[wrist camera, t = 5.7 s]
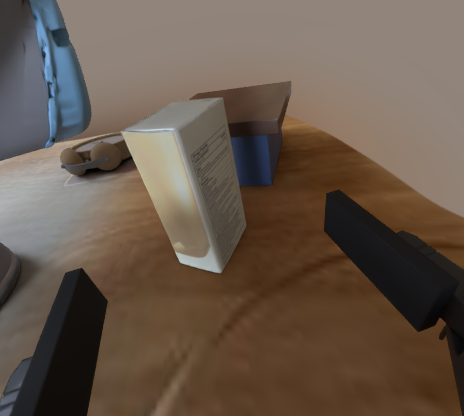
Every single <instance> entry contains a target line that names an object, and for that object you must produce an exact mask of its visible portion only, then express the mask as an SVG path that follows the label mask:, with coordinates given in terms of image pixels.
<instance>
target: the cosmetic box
mask: <svg viewBox="0 0 464 416" xmlns="http://www.w3.org/2000/svg"><path fill="white" fill-rule="evenodd" d="M121 133H122V135H123V138H124V140H125V142H126V144H127V146H128V149H129V151H130V153H131V155H132V157H133V160H134V162H135V164H136V166H137V169H138V171H139V173H140V175H141V177H142V179H143V182H144V184H145V186H146V188H147V191H148V193H149V195H150V197H151V199H152V202H153V204H154V206H155V208H156V211H157V213H158V215H159V217H160V220H161V222H162V224H163V226H164V228H165V230H166V233H167V235H168V237H169V239H170V241H171V244H172V246H173V248H174V250H175V253H176V255H177V257H178V259H179V262H180V263H182V264H186V265H189V266H193V267H196V268H200V269H203V270H207V271H211V272H215V273H221V272H222V271H223V270H224V268H225V266H226V264H227V262H228V261H229V259H230V257H231V255H232V253H233V252H234V250H235V248H236V246H237V244H238V242H239V240H240V238H241V236H242V234H243V232H244V230H245V228H246V220H245V215H244V209H243V204H242V199H241V193H240V188H239V182H238V177H237V171H236V166H235V161H234V155H233V150H232V144H231V139H230V133H229V128H228V122H227V117H226V112H225V106H224V100H223V98H206V99H195V100H184V101H175V102H173V103H171V104H170V105H168V106H166V107H164V108H162V109H160V110H159V111H157V112H156V113H154V114H151V115H150V116H148V117H146V118H145V119H143V120H141V121H139V122H137V123H135V124H134V125H132V126H130V127H128V128H127V129H125V130H123V131H121Z"/></svg>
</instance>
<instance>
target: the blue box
mask: <svg viewBox="0 0 464 416" xmlns="http://www.w3.org/2000/svg"><path fill="white" fill-rule="evenodd" d="M230 139H231V144H232V150H233V155H234V161H235V166H236V171H237V177H238V182H239V186H245V185H272V183H273V178H274V174H275V170H276V166H277V162H278V158H279V153H280V149H281V145H282V130H280V134H273V135H259V136H246V137H232V138H230Z"/></svg>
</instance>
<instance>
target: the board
mask: <svg viewBox="0 0 464 416" xmlns="http://www.w3.org/2000/svg"><path fill="white" fill-rule="evenodd" d="M290 94H291V81H288V82H281V83H273V84H266V85H258V86H251V87H244V88H236V89H228V90H221V91H214V92H207V93H199V94H196V95H195V96H193V97H192V98H190V99H189V100H195V99H206V98H223V100H224V106H225V112H226V117H227V122H228V128H229V133H230V138H232V137H246V136H259V135H273V134H280V130H281V127H282V123H283V120H284V116H285V112H286V109H287V105H288V102H289V98H290Z"/></svg>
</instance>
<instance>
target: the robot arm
mask: <svg viewBox="0 0 464 416" xmlns="http://www.w3.org/2000/svg"><path fill="white" fill-rule="evenodd" d="M90 121H91V105H90V100H89V96H88V91H87V87H86V84H85V80H84V76H83V73H82V70H81V67H80V64H79V61H78V58H77V55H76V52H75V49H74V47H73V46H72V44H71V42H70V40H69V35H68V32H67V29H66V26H65V23H64V19H63V16H62V13H61V11H60V8H59V6H58V4H57V2H56V0H0V161H2V160H5V159H8V158H12V157H15V156H19V155H22V154H26V153H29V152H32V151H36V150H39V149H43V148H49V147H51V146H53V145H54V143H57V142H59V141H62V140H64V139H67V138H70V137H73V136H75V135H78V134H80V133H82V132H83V131H85V130H86V129H87V128H88V126H89V124H90ZM324 231H325V232H326V234H327V235H328V236H329V237H330V238H331V239H332V240H333V241H334V242H335V243H336V244H337V245H338V246H339V248H340V249H341V250H342V251H343V252H344V253H345V254H346V255H347V256H348V257H349V258H350V259H351V260H352V262H353V263H354V264H355V265H356V266H357V267H358V268H359V269H360V270H361V271H362V272H363V273H364V274H365V276H366V277H367V278H368V279H369V280H370V281H371V282H372V283H373V284H374V285H375V286H376V287H377V288H378V289H379V291H380V292H381V293H382V294H383V295H384V296H385V297H386V298H387V299H388V300H389V301H390V302H391V303H392V305H393V306H394V307H395V308H396V309H397V310H398V311H399V312H400V313H401V314H402V315H403V316H404V317H405V319H406V320H407V321H408V322H409V323H410V324H411V325H412V326H413V327H414V328H415V329H416V330H417V331H418V332H420V331H423V330H425V329H428V328H430V327H433V326H435V324H436V323H437V321H438V319H439V318H441V319H442V320H443V321H444V322H446V325H445V326H444V328H443V329H442V331H441V333H440V334H439V339H440V340H443V339H444V337H445V336H446V335H447V341H448V346H449V351H450V356H451V361H452V366H453V371H454V376H455V381H456V386H457V391H458V396H459V401H460V406H461V411H462V416H464V270H463V269H461V268H460V267H459V266H457V265H456V264H454V263H453V262H452V261H450V260H449V259H447V258H446V257H445V256H443V255H442V254H440V253H439V252H436V250H435V249H433V248H432V247H431V246H428V245H427V244H426V243H425V242H424V241H422V240H421V239H419V238H418V237H417V236H415V235H412V234H410V233H407V232H405V231H400V232H397V233H395V232H394V231H393V230H391V229H390V228H389V227H387V226H386V225H385V224H383V223H382V222H381V221H379V220H378V219H377V218H376V217H374V216H373V215H372V214H370V213H369V212H368V211H366V210H365V209H364V208H362V207H361V206H360V205H359V204H357V203H356V202H355V201H353V200H352V199H351V198H349V197H348V196H347V195H345V194H344V193H343V192H342V191H340V190H336V191H332V192H329V193H326V207H325V223H324ZM20 268H21V266H20V261H19V259H18V257H17V256H16V255H15V254H14V253H13V252H12V251H11V250H10V249H9V248H7V247H6V246H4V245H3V244H2V243H0V306H1V304H2V303H3V302H4V300H5V299H6V298H7V296H8V295H9V294H10V292H11V291H12V289H13V287H14V285H15V284H16V281H17V279H18V277H19V274H20ZM107 302H108V301H107V299H106V298H105V297H104V296H103V294H102V293H101V292H100V290H99V289H98V288H97V287H96V285H95V284H94V283H93V282H92V280H91V279H90V278H89V277H88V275H87V274H86V273H85V271H84V270H83V269H82V268H80V269H77V270H73V271H70V272H67V273H65V275H64V278H63V281H62V283H61V286H60V288H59V291H58V293H57V296H56V298H55V301H54V303H53V306H52V308H51V311H50V314H49V316H48V319H47V321H46V324H45V326H44V329H43V331H42V334H41V336H40V339H39V342H38V344H37V347H36V349H35V352H34V354H33V357H30V358H27V359H24V360H22V361H21V363H20V364H19V366H18V367H17V368H16V370H15V371H14V372H13V374H12V375H11V376H10V379H9V381H8V383H7V386H6V388H5V390H4V393H3V394H4V395H3V397H1V399H0V416H87V412H88V407H89V401H90V396H91V390H92V385H93V379H94V374H95V368H96V363H97V357H98V352H99V346H100V341H101V335H102V330H103V324H104V319H105V313H106V308H107Z"/></svg>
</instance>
